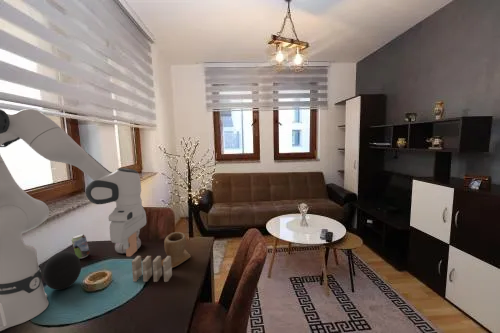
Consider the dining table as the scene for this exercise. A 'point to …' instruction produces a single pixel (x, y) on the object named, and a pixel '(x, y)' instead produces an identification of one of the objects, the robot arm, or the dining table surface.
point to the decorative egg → (62, 270)
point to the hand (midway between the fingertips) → (131, 244)
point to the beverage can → (80, 246)
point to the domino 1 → (132, 245)
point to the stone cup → (176, 248)
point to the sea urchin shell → (120, 248)
